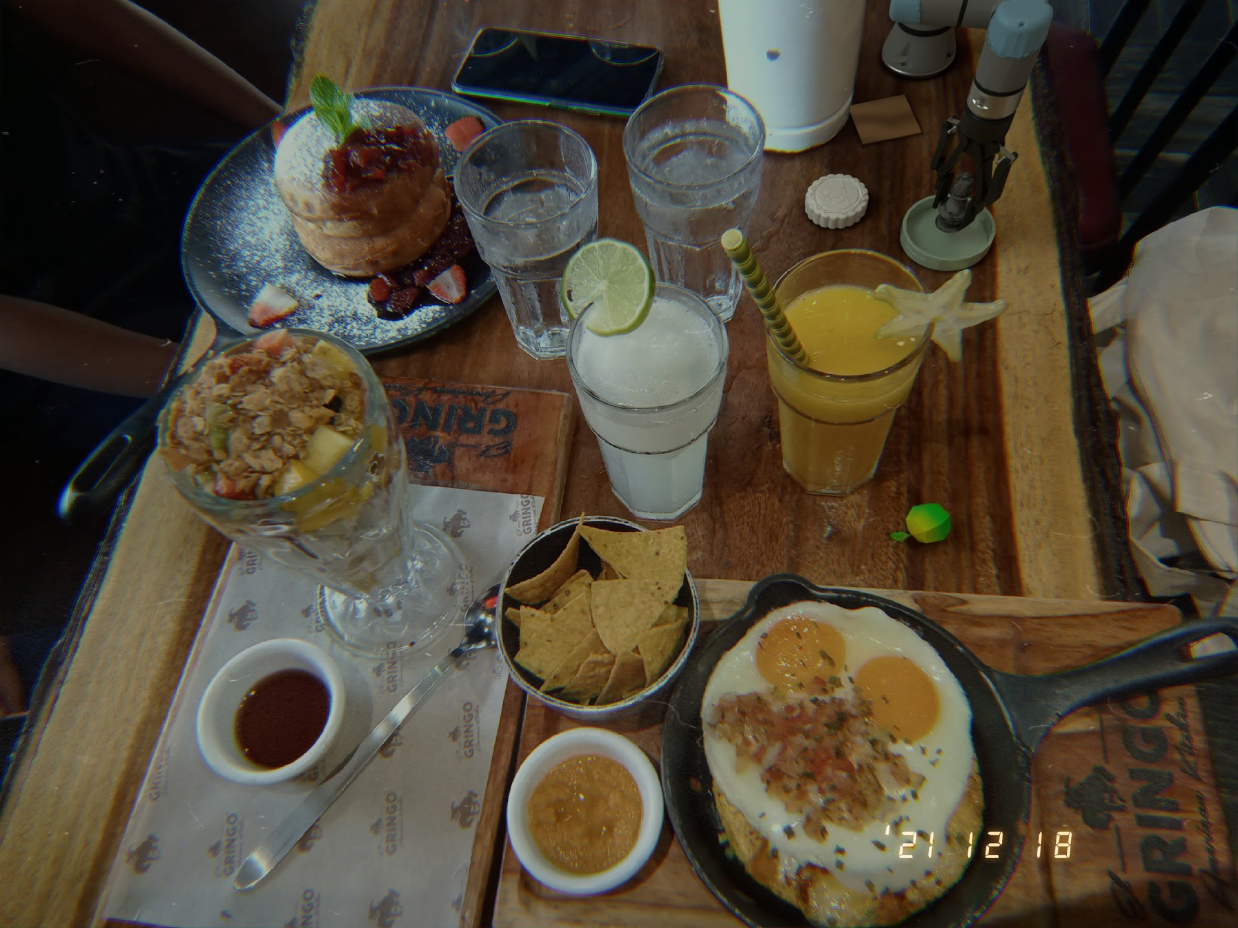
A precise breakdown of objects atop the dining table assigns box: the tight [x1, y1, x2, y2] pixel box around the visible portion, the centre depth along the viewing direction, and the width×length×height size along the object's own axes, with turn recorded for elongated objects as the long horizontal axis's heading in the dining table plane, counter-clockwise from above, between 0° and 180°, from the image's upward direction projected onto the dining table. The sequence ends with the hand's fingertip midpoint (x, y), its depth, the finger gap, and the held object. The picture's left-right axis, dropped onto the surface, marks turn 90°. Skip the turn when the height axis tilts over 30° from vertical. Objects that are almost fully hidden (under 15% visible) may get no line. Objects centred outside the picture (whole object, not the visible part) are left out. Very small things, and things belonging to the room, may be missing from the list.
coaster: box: [849, 93, 922, 146], centre depth 154 cm, size 12×12×1 cm
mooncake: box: [804, 173, 869, 230], centre depth 144 cm, size 12×12×4 cm
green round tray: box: [899, 193, 997, 272], centre depth 138 cm, size 16×16×3 cm
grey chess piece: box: [935, 171, 975, 233], centre depth 130 cm, size 6×6×12 cm
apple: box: [889, 502, 952, 544], centre depth 112 cm, size 7×6×9 cm
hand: (952, 213), depth 134 cm, fingers closed on grey chess piece, 6 cm apart
